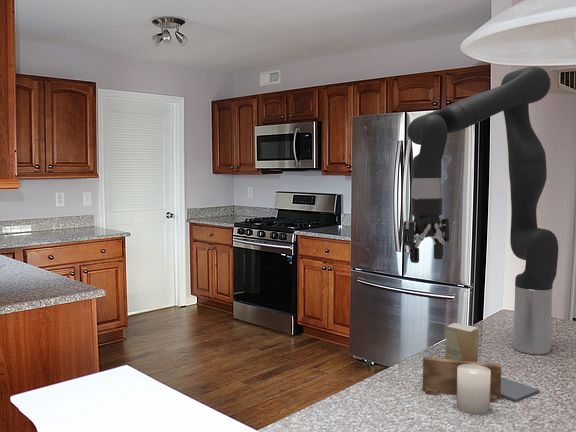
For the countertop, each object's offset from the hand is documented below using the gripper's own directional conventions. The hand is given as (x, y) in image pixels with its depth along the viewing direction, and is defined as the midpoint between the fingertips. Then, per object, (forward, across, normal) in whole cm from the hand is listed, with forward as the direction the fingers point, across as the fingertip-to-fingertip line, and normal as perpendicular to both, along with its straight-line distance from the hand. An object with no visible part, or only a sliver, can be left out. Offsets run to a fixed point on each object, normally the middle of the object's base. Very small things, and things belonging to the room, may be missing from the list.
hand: (426, 260), depth 137 cm
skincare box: (+26, +2, +12) cm, 29 cm away
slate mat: (+26, 0, +23) cm, 35 cm away
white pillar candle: (+26, +14, +25) cm, 38 cm away
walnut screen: (+26, +10, +19) cm, 33 cm away
